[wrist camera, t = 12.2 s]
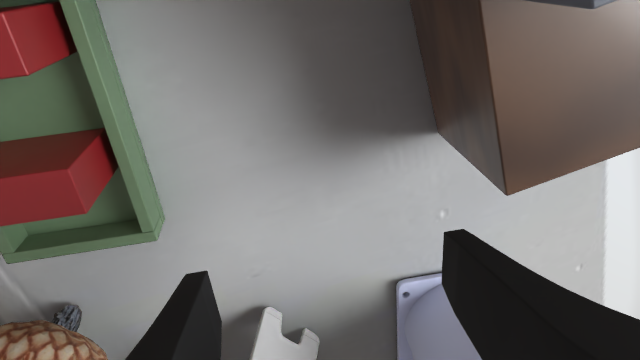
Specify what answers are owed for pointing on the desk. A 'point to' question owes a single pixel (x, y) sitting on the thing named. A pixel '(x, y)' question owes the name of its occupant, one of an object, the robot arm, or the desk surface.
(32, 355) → the acorn
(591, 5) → the grey books
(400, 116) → the desk surface
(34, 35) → the rack books
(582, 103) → the wood grain box
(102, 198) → the green book tray
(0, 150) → the red book
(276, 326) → the tablet stand
